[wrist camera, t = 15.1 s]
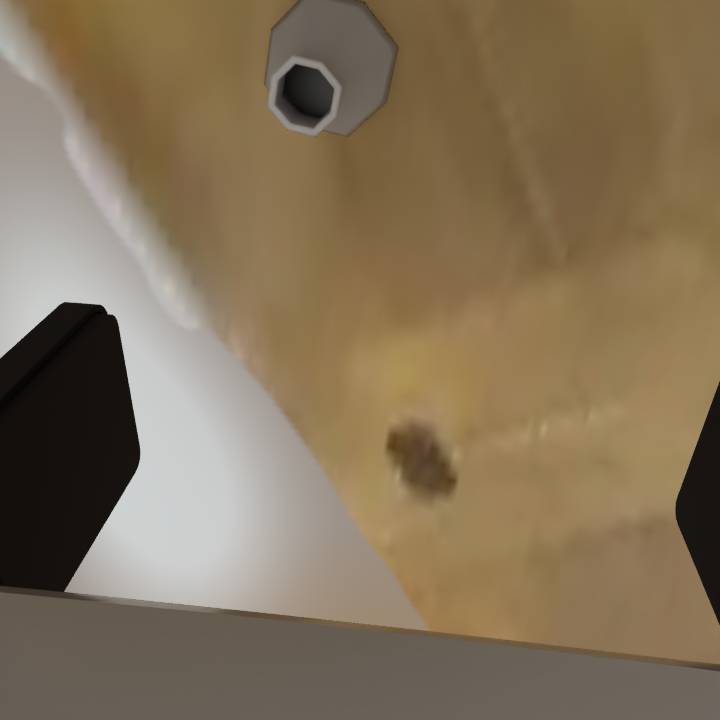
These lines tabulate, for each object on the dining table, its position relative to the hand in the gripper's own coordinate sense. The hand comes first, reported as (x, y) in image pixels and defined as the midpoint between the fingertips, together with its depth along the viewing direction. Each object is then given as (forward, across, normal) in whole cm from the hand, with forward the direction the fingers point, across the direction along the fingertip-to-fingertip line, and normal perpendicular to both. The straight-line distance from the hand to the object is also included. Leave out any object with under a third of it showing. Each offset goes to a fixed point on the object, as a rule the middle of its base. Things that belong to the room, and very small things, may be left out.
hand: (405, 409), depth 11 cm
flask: (+31, +6, -1) cm, 32 cm away
